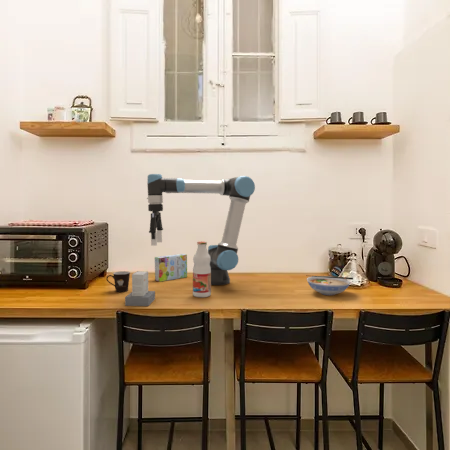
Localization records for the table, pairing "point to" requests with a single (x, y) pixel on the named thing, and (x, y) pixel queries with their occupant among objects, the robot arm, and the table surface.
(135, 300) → the stand
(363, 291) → the table surface
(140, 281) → the small box
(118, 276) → the coffee mug
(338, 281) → the ramen bowl
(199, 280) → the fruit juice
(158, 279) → the snack box
